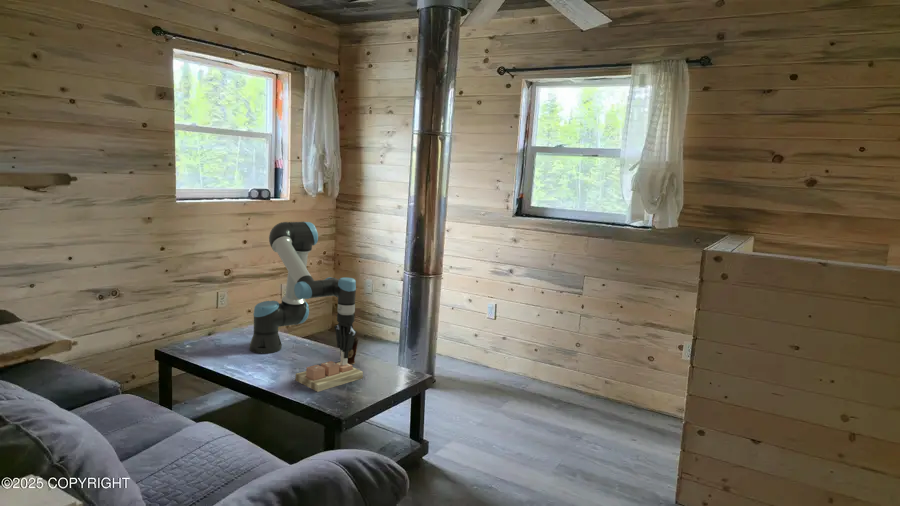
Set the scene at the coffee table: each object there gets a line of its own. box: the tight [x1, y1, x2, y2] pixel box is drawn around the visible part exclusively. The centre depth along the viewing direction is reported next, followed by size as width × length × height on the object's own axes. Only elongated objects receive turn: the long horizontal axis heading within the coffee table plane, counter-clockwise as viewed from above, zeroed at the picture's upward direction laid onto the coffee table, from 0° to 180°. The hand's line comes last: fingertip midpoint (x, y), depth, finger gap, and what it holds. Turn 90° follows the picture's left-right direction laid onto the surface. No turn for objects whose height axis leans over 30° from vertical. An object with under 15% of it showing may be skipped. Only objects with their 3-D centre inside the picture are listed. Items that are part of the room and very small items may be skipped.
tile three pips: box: [339, 363, 354, 373], centre depth 247 cm, size 6×6×5 cm
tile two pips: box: [320, 360, 339, 377], centre depth 241 cm, size 6×6×5 cm
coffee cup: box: [347, 335, 359, 365], centre depth 262 cm, size 9×8×13 cm
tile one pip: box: [305, 364, 325, 381], centre depth 235 cm, size 6×6×5 cm
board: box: [294, 361, 364, 393], centre depth 242 cm, size 16×24×3 cm, turn 139°
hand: (343, 364), depth 247 cm, fingers closed
